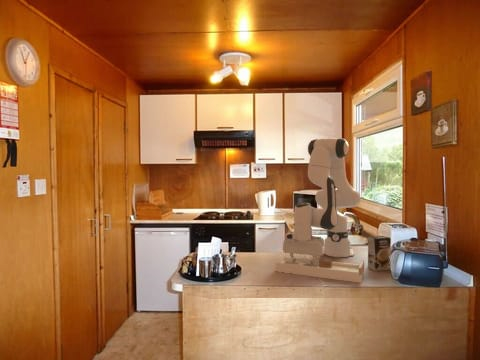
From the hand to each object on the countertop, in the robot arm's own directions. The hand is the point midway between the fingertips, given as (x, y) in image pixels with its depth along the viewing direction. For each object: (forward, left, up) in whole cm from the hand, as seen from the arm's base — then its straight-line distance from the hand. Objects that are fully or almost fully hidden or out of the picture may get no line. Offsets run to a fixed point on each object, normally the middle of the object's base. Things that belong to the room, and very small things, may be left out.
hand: (303, 262), depth 168 cm
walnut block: (0, +11, -1) cm, 11 cm away
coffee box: (-19, +34, -4) cm, 39 cm away
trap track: (0, +8, -4) cm, 9 cm away
